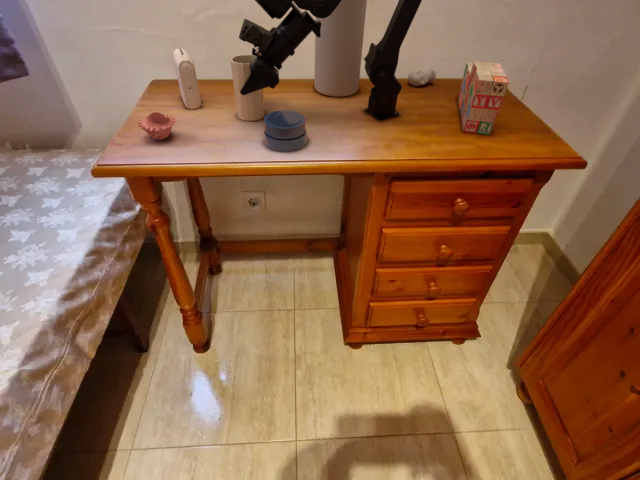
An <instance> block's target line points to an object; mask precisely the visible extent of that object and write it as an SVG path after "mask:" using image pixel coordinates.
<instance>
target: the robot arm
mask: <svg viewBox="0 0 640 480" xmlns="http://www.w3.org/2000/svg"><path fill="white" fill-rule="evenodd" d="M254 1H255V2H256V3H257V5H258V6H259V7H260V8H261V9H262V10H263V11H264V12H265V13H266V14H267V15H268V16H269V18H271V19H272V20H274V19H276V20H281V19H282V18H283V19H282V20H281V21H280V22H279V24H278V25H277V26H273V27H271V28H270V30H268V29H266V28H264V27H263V26H261V25H259V24H257V23H256V22H253V21H251V20H249V19H247V18H244V19H243V21H242V25H241V28H240V30H239V31H240V32H239V34H238V39H239V40H240V41H242V42H247V43H249V44H250V45H253V47H252V49H251V55H255V56H256V58H255V59H254V60H253V61H252V63H251V62H250V71H251V74H250V75H249V77H248V79H247V80H246V82H245V84H244V85H243V87H242V89H241V91H240V93H241V94H242V95H246V94H249V93H252V92H254V91H257V90H260V89H263V90H264V89H266V88H271V89H273V90H274V89H275V88H276V87H277V86H278V85H279V84H280V74H279V73H280V70H281V69H282V68H283V64H284V63H285V61H286V60H288V58H289V57H293V56H294V55H295V53H296V49H298V47H299V46H300V45H301V44H302V43H303V42H304V40H305V39H306V38H307V37H308V36H309V35H310V34H311V32H312V33H313V34H314V36H315V35H316V36H317V37H318V38H320V37H321V34H320V29H321V25H322V24H321V21H315V19H314V17H317V18H323V19H324V18H327V17H328V16H330V15H331V14H332V12H333V11H334V10H335V9H336V7H337V6H338V5H339V3H340V2H341V1H342V0H254ZM422 2H423V0H398V2H397V4H396V6H395V9H394V11H393V13H392V16H391V18H390V20H389V23H388V25H387V27H386V30H385V32H384V34H383V36H382V37H381V39H380V41H378V43H377V44H375V43H374V42H371V43H370V45H369V49H368V52H367V54H366V56H364V58H363V61H364V62H365V63H364V70H365V73H366V75H367V77H368V79H369V81H370V83H371V84H372V85H373V87H372V88H370V94H369V96H368V101H367V107H366V108H364V112H365V113H367V114H368V115H370V116H372V118H375V119H377V120H378V121H384V120H387V119H390V118H391V119H392V118H394V117H398V116H400V112H398V110H396V108H397V103H398V96H399V95H400V93H401V91H402V89H403V86H402V84H401V83H400V81H399V80H398V78H397V77H396V75H395V74H396V72H397V68H398V64H399V59H400V58H399V57H400V51H401V47H402V45H403V42H404V41H405V38H406V36H407V35H408V32H409V29H410V27H411V25H412V23H413V21H414V18H415V16H416V14H417V13H418V10H419V8H420V6H421V4H422ZM290 9H291V10H290ZM289 10H290V11H289ZM301 10H304V11H301ZM288 11H289V12H288ZM286 14H287V15H286ZM285 15H286V16H285ZM312 16H313V17H312Z"/></svg>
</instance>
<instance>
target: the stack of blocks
mask: <svg viewBox="0 0 640 480" xmlns="http://www.w3.org/2000/svg"><path fill="white" fill-rule="evenodd" d="M509 85H510V81H509V80H508V76H507V74H506V72H505V70H504V68H503V66H502V65H501V63H498V62H487V61H486V62H485V61H473V62H466V64H465V66H464V71H463V76H462V81H461V84H460V89H459V92H458V95H457V99H458V108H459V113H460V117H461V127H462V132H463V133H470V134H479V135H487V136H490V134H491V132H492V130H493V127H494V126H495V121H496V118H497V117H498V113H499V110H500V108H501V106H502V103H503V101H504V97H505V94H506V92H507V89H508V87H509Z"/></svg>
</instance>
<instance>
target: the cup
mask: <svg viewBox="0 0 640 480" xmlns="http://www.w3.org/2000/svg"><path fill="white" fill-rule="evenodd" d="M255 58H256V56H255V55H252V54H238V55H234V56H231V57H230V59H229V61H230V69H231V75H232V85H233V92H234V100H235V108H236V115H237V118H238V119H240V120H242V121H247V122H252V121H253V122H255V121H259V120H262V119H264V118H265V116H266V113H265V100H264V88H263V89H260V90H257V91H254V92H252V93H249V94H246V95H242V94H241V93H240V91H241V89H242V87H243V85H244V84H245V82H246V80H247V79H248V77H249V75H250V74H251V71H250V62H251V63H252V61H253V60H254V59H255Z"/></svg>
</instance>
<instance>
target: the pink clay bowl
mask: <svg viewBox="0 0 640 480" xmlns="http://www.w3.org/2000/svg"><path fill="white" fill-rule="evenodd" d="M176 118H177V117H174V115H171V116H169V114H166V115H165V114H164V113H163V112H159V111H154V112H151V113H149V114H148V115H147V116H145V117H143V119H142V120H141V119H139V122H137V127H138V128H140V129H142V130H143V131H144V132H146V133H147V136H149V138H152V139H154V140H158V141H159V140H164V139H166V138H168V137H169V135H171V133H172V129H173V126H174V125H176V122H177V120H176Z"/></svg>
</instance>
